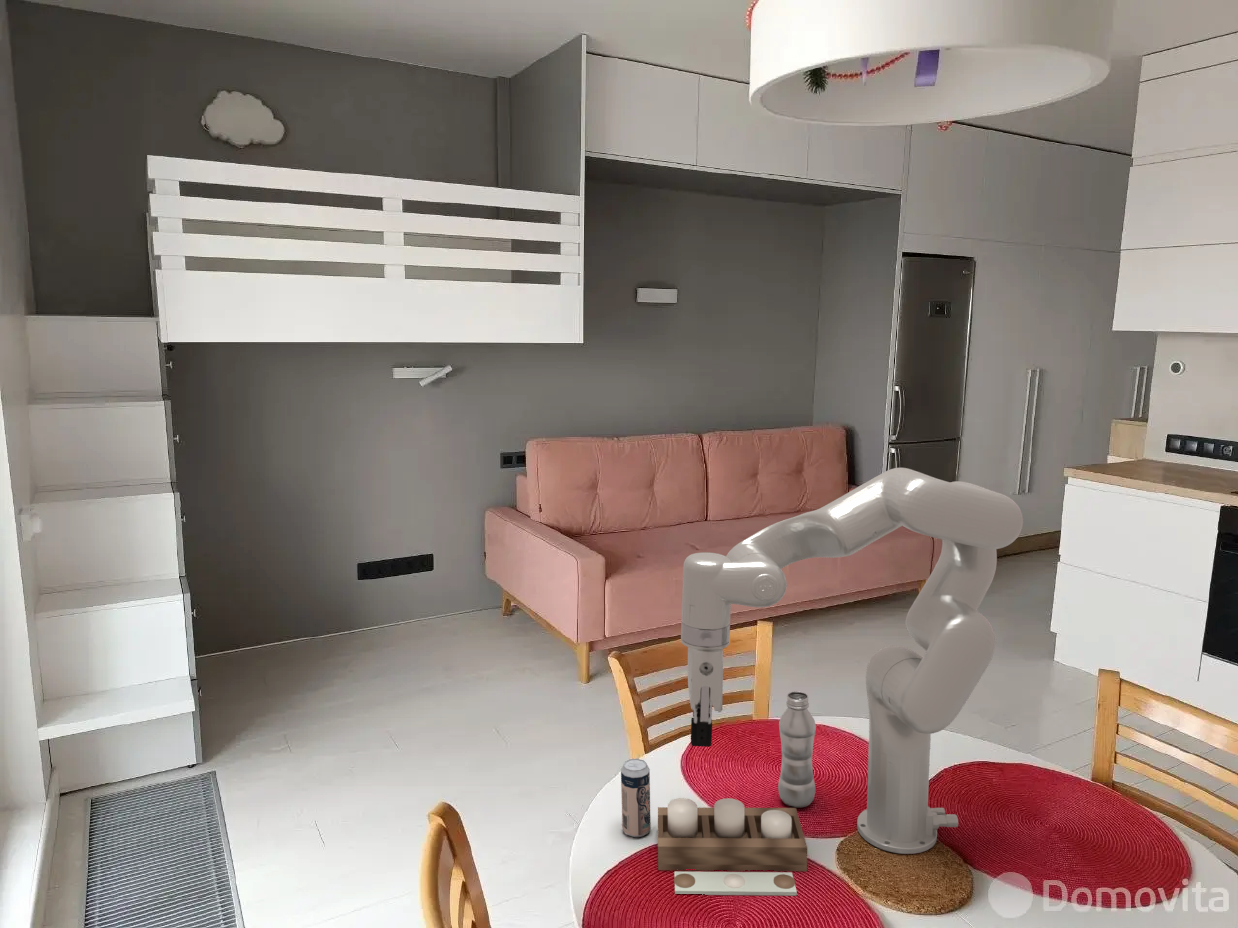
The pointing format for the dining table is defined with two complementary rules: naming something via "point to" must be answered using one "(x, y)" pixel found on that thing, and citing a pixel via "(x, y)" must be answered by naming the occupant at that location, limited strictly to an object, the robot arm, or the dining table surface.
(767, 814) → the button
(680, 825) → the button
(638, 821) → the beer can
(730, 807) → the button mid
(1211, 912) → the dining table surface
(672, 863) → the wooden compartment tray
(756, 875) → the card
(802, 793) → the plastic bottle
